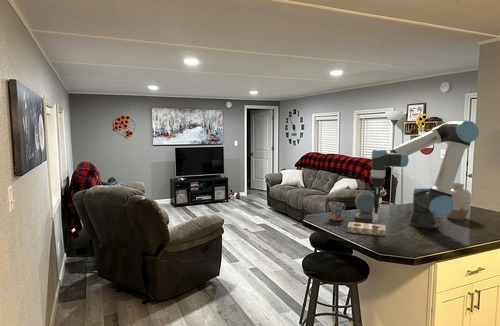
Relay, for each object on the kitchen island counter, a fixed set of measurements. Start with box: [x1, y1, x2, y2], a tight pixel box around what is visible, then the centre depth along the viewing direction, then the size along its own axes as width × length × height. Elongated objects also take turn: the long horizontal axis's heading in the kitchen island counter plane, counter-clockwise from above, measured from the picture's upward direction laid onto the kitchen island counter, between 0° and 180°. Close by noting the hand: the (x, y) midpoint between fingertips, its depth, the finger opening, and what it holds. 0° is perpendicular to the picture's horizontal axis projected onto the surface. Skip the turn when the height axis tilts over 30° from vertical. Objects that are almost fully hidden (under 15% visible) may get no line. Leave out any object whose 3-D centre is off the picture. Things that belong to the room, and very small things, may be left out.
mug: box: [328, 201, 346, 222], centre depth 217 cm, size 12×9×11 cm
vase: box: [445, 182, 472, 221], centre depth 222 cm, size 16×16×23 cm
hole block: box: [347, 221, 386, 237], centre depth 193 cm, size 20×11×3 cm, turn 70°
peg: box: [371, 205, 379, 225], centre depth 190 cm, size 3×3×10 cm
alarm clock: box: [354, 189, 374, 220], centre depth 224 cm, size 14×10×18 cm
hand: (375, 218), depth 191 cm, fingers closed on peg, 2 cm apart
